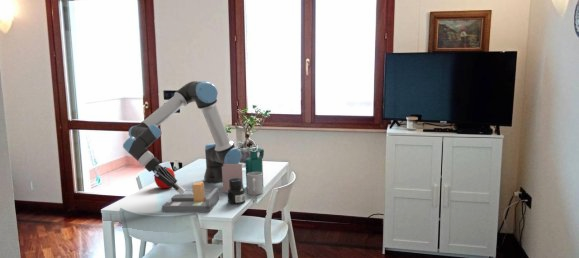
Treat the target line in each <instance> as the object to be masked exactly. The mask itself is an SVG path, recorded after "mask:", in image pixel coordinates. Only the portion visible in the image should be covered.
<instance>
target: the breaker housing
mask: <svg viewBox="0 0 579 258" xmlns="http://www.w3.org/2000/svg"><path fill="white" fill-rule="evenodd" d="M204 194H205V201H204V202H194V196H193V193H191V194H189V193H188V194H186V193H185V194H184V193H183V194H182V195H180V194H179V193H178V194H174V195H173V196H172V197H170V198H171V199H170V201H166V202H165V203H164V204H162V206H161V211H162V213H210V212H211V211H212V210H213V209H214V207H216V205H217V203H218V202H219V201H220V200H221V199H220V187H214V188H213V190H212V191H211V192H210V193H209V194H207V193H204Z"/></svg>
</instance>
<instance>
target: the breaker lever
mask: <svg viewBox="0 0 579 258" xmlns="http://www.w3.org/2000/svg"><path fill="white" fill-rule="evenodd" d="M204 182H205V181H195V182H194V183H193V184H192V194H193V196H194V202H204V201H205V194H206V193H205V183H204Z"/></svg>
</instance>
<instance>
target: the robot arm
mask: <svg viewBox="0 0 579 258" xmlns="http://www.w3.org/2000/svg"><path fill="white" fill-rule="evenodd" d="M217 99H218V89H217V87H216V85H214V84H213V83H212V82H210V81H209V82H208V81H206V80H203V81H197V80H196V81H195V80H193V81H189V82H187V83H186V84H184V85H183V86H181V88H179V89H178V90H176V91H175V92H174V94H173V96H172V97H171V98H170V99H168V100H167V101H166V102H164V103H163V104H162V105H160V106H159V107H158V108H157V109H156V110H154V111H153V113H151V114H150V115H149V116H147V117H146V118H145V119H144V120H143V121H141V122H140V123H138V124H137V125H134V126H133V125H132V126H131V127H130V128H129V129H128V136H129V137H128V139H126V140H125V141H124V143H123V144H122V147H123V149H124V150H125V151H126V152H127V154H129V155H131V156H132V157H133V159H135V160H136V161H137V162H138V163H139V165H141V166H142V167H144V168H145V169H146V170H147V171H148V172H150V173H151V172H152V173H153V177H156V178H158V179H159V180H161V181H162V182H163V183H165V184H166V185H167V186H169V189H171V188H173V189H174V190H175V191H176V192H177V193H178V194H180V195H182V194H184V193H186V190H185V189H184V188H183V187H182V186H181V185H180V184H179V183H178V179H177V178H176V176H175V177H174V176H173V175H172V174H171V173H170V172H169V171H168V169H167V168H168V167H167V166H162V165H161V164H160V163H161V161H160V159H158V157H156V156H155V155H154V154H153V153H152V152H151V151H150V150H149V149H148V148H149V147H150V146H151V145H152V144H154V142H156V141H157V140H159V138H160V137H161V136H162V134H163V133H162V130H161V129H160V128H159V126H161V124H162V123H164V122H165V121H167V120H168V119H169V118H170V117H171V116H172V115H174V114H175V113H176V112H178V111H179V110H180V109H181V108H182V107H186V106H187V105H189V104H191V103H194V102H195V104H196V107H197V109H198V110H201V112H202V114H203V117H204V119H205V122H206V124H207V127H208V128H209V129H208V130H209V132H210V134H211V137H212V139H213V141H214V142H212V143H206V144H205V147H204V152H205V172H204V175H203V182H206V183H221V182H222V183H223V179H222V166H223V164H240V162H241V159H242V152H241V150H240V149H239V148H237V147H236V146H235V143H234V141H232V140H231V139H230V137H229V135H228V132H227V130H226V127H225V124H224V122H223V119H222V117H221V114H220V111H219V109H218V106H217V103H218V100H217ZM163 167H164V168H163Z"/></svg>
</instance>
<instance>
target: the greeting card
mask: <svg viewBox="0 0 579 258" xmlns="http://www.w3.org/2000/svg"><path fill="white" fill-rule="evenodd" d="M234 178H240V179H242V188H244V183H243V181H244V180H243V178H244V177H243V164H241V163H239V164H223V166H222V179H223V182H222V193H228V189H229V188H230V187H229V180H230V179H234Z"/></svg>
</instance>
